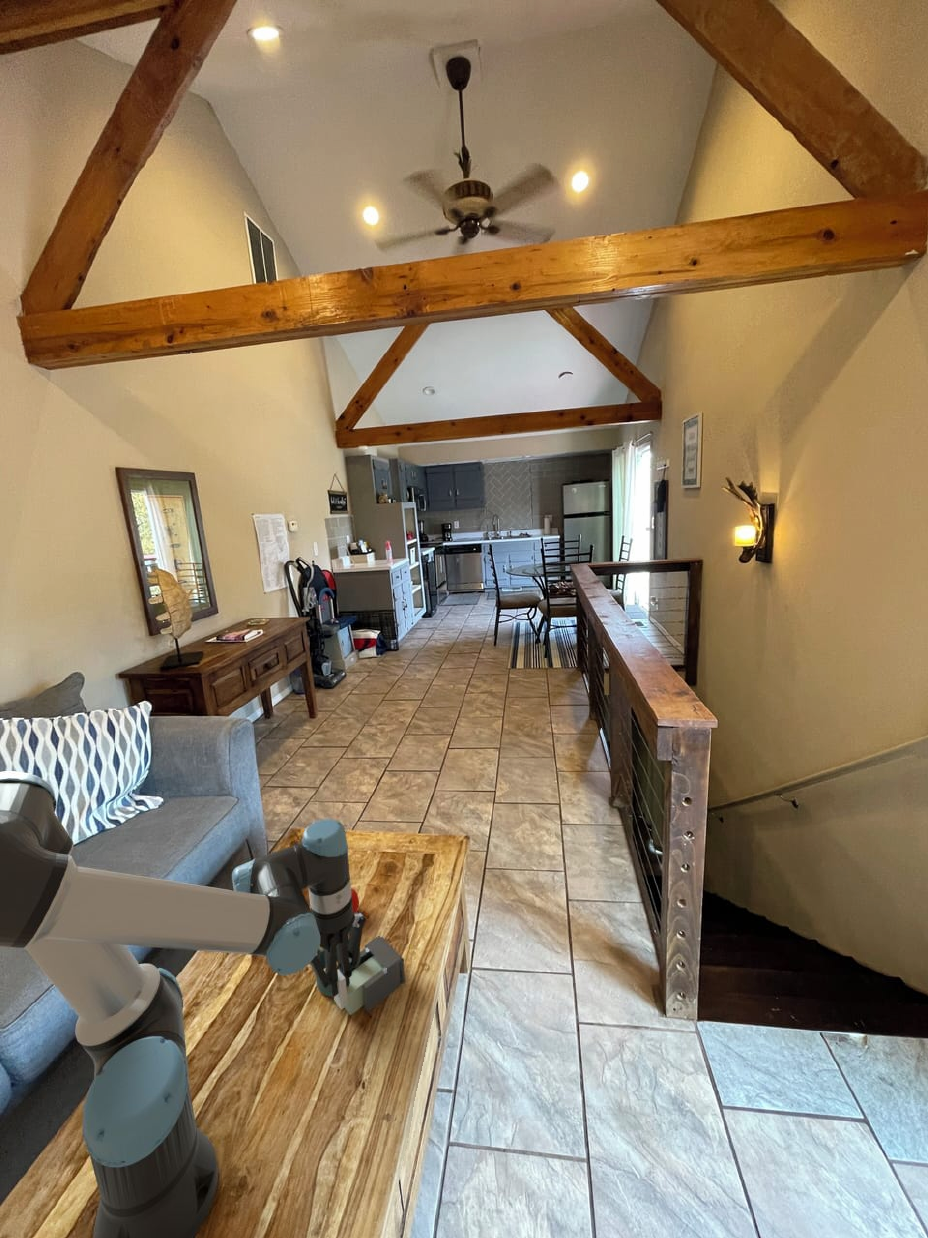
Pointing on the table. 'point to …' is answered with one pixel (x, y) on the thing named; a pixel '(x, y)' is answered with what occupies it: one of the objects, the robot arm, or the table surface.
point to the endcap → (382, 972)
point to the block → (360, 983)
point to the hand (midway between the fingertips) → (341, 1002)
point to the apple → (354, 901)
